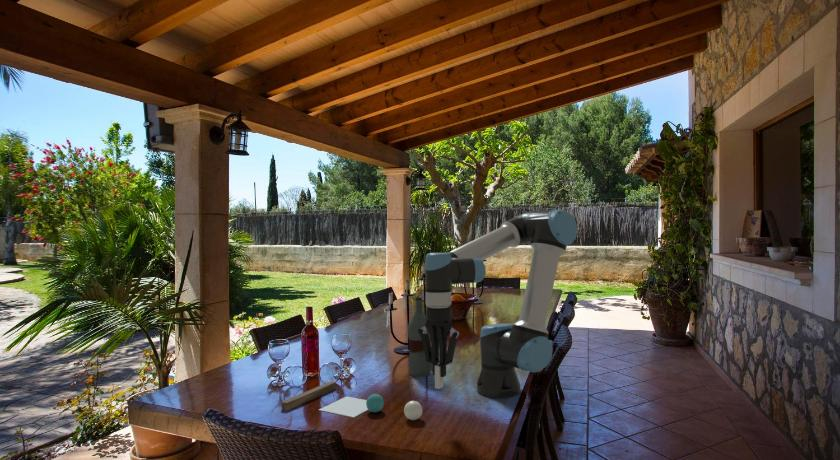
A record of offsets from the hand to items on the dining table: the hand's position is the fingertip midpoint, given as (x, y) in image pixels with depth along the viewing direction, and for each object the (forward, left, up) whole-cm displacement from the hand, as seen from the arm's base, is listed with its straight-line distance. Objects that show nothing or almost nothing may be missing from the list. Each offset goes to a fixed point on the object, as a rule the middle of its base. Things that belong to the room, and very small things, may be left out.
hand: (439, 387), depth 147 cm
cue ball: (+9, 0, -8) cm, 13 cm away
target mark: (+33, 0, -11) cm, 35 cm away
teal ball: (+23, 0, -8) cm, 25 cm away
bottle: (+31, -42, -11) cm, 54 cm away
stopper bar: (+50, 0, -11) cm, 52 cm away
